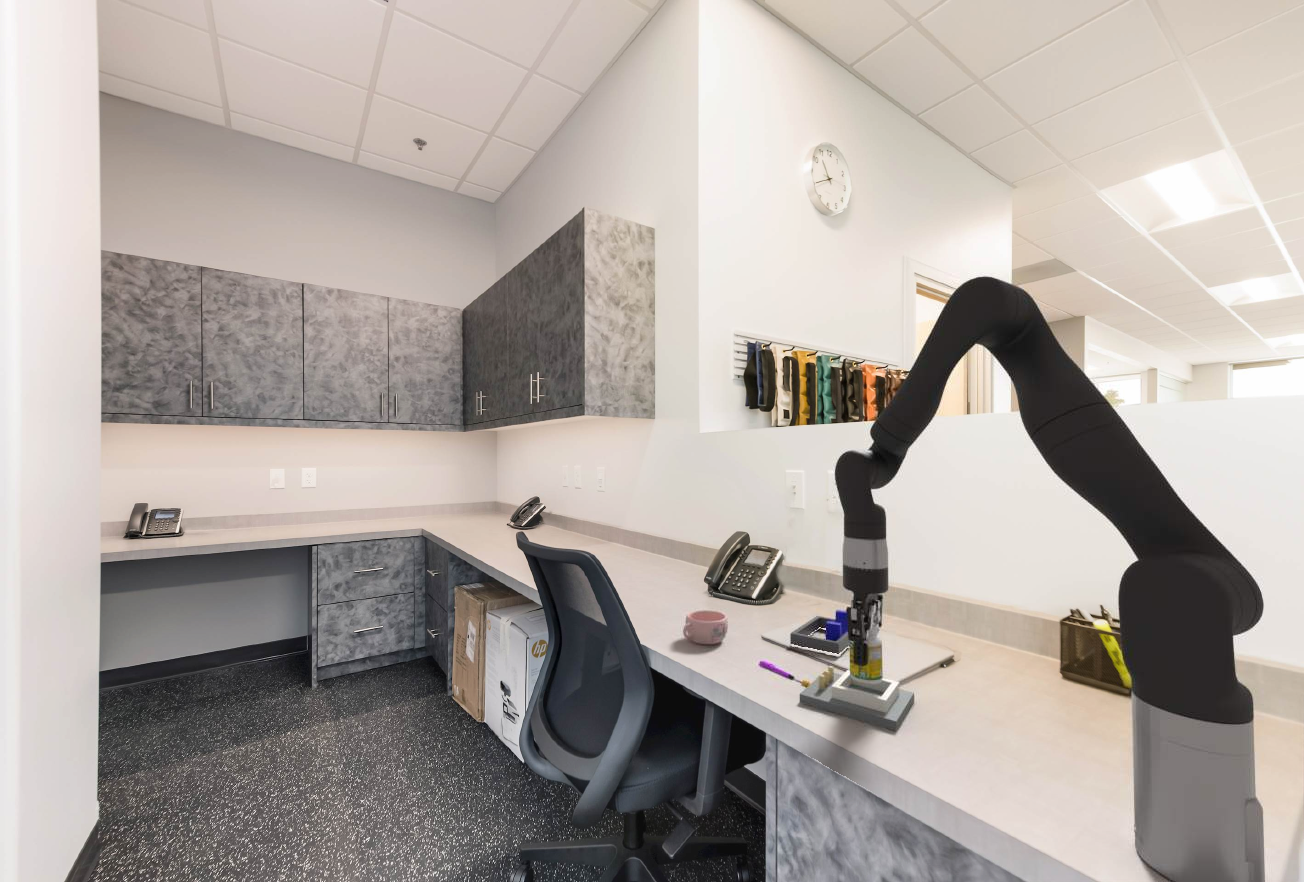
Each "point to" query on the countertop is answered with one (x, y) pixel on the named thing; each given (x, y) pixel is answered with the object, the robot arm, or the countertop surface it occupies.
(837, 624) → the cable clip
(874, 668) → the supplement bottle
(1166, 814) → the robot arm
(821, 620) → the tray
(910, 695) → the board
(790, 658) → the countertop surface
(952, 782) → the countertop surface
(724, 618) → the mug
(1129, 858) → the countertop surface
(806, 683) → the purple handled brush
